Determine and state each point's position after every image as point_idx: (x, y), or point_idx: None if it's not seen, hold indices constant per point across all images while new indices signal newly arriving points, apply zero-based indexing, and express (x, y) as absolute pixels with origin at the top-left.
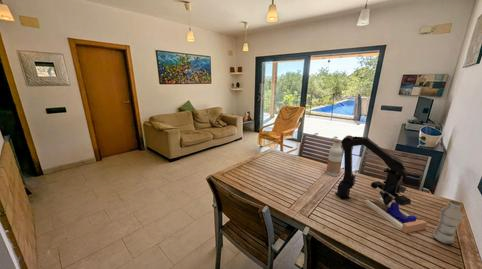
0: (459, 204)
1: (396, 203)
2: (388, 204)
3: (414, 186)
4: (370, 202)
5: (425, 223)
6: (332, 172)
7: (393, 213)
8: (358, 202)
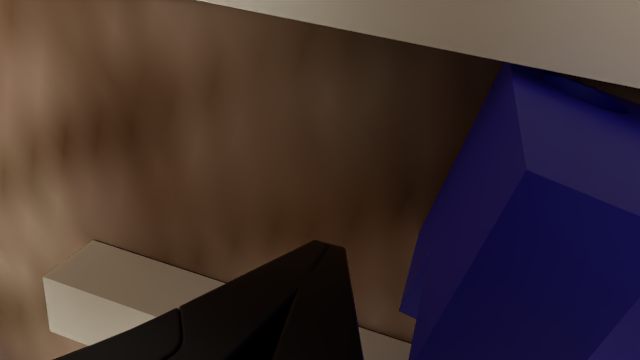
0: None
1: (569, 276)
2: (284, 15)
3: None
4: (124, 331)
5: None
6: None
7: (601, 355)
8: (71, 347)
